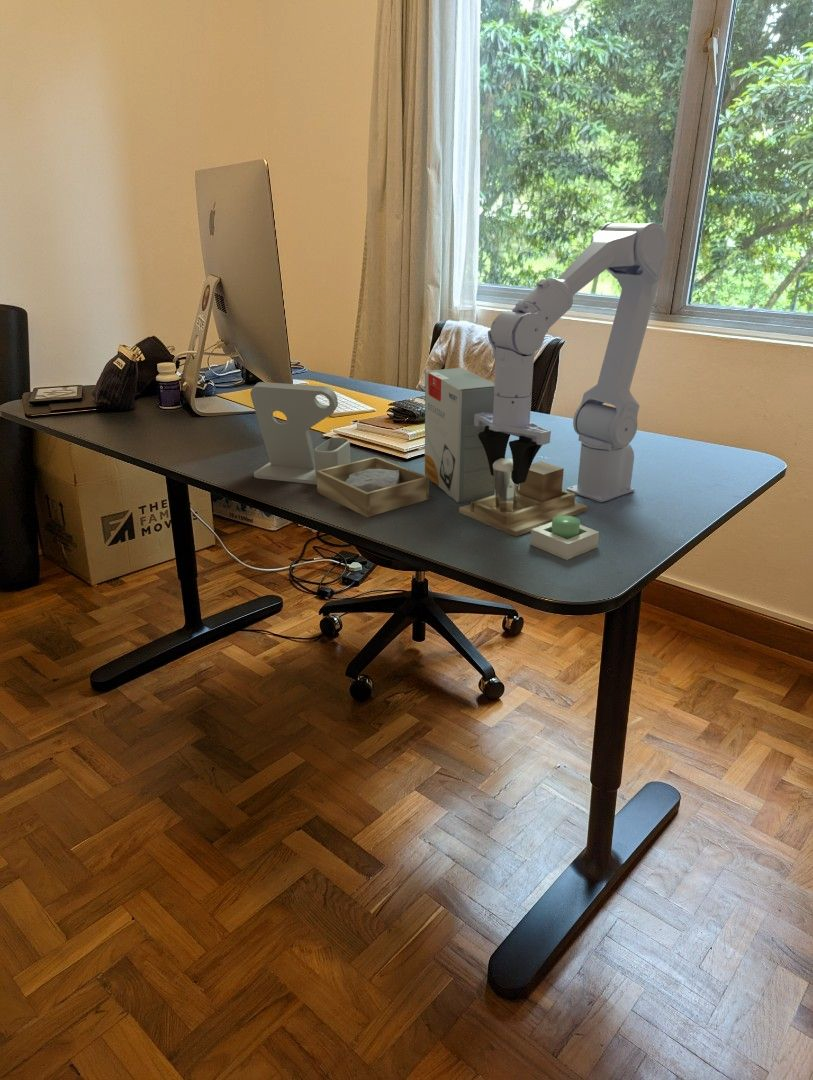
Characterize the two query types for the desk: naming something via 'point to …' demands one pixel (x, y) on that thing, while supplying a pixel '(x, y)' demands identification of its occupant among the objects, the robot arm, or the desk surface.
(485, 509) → the pallet
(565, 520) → the button
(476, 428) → the hard drive box
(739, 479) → the desk surface
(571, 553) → the cream square tray
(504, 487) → the milkshake
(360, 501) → the wooden tray
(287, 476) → the phone holder
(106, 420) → the desk surface
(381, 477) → the stone block
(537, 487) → the walnut block
